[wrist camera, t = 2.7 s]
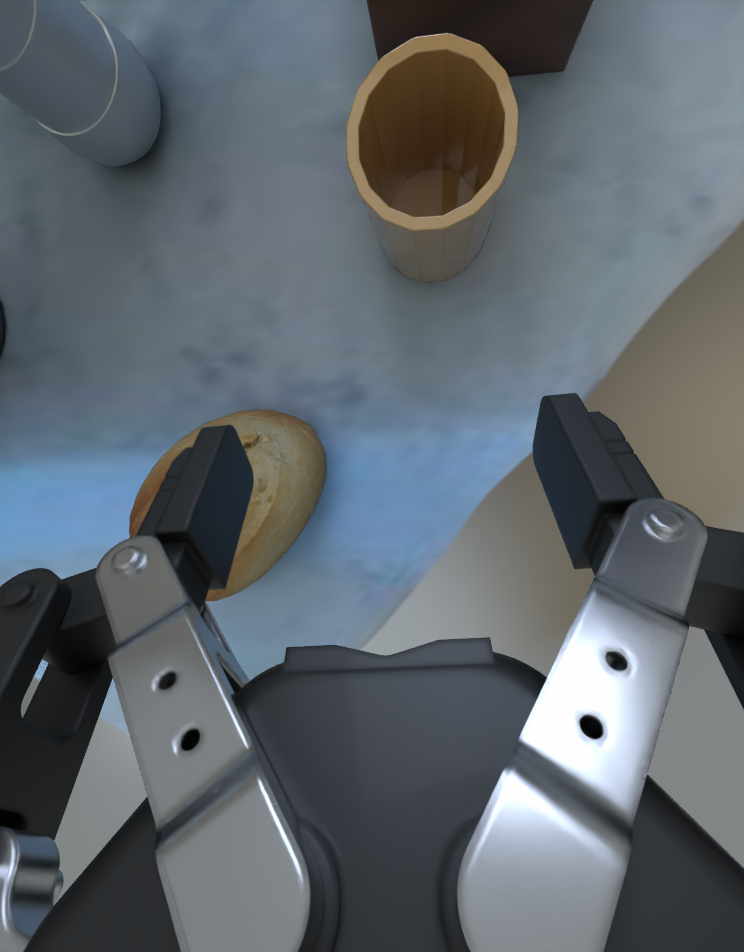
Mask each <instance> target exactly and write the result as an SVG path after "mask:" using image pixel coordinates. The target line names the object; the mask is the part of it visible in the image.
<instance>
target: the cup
mask: <svg viewBox="0 0 744 952" xmlns="http://www.w3.org/2000/svg"><path fill="white" fill-rule="evenodd" d="M518 117H519V110H518V105H517V102H516V99H515V96H514V93H513V90H512V87H511V84H510V80H509V77H508V74H507V73H506V71H505V70H504V69H503V68H502V66H501V65H500V64H499V63H498V62H497V61H496V60H495V59H494V58H493V57H492V56H491V54H490V53H489V52H488V51H487V50H486V49H485V48H484V47H483V46H482V47H481V45H480V44H477V43H475V42H472V41H469V40H467V39H464V38H461V37H458V36H456V35H453V34H449V33H444V34H436V35H428V36H420V37H414V39H413V38H412V39H410V40H409V41H407V42H405V43H404V44H402V45H401V46H399V47H397V48H396V49H394V50H392V51H391V52H389V53H388V54H386V55H384V56H383V57H382V58H381V59H380V60H379V61H378V63H377V64H376V65H375V67H374V68H373V69H372V71H371V72H370V73H369V75H368V76H367V77H366V79H365V80H364V81H363V83H362V84H361V85H360V87H359V89H358V90H357V93H356V97H355V100H354V103H353V106H352V109H351V112H350V115H349V119H348V122H347V127H346V142H347V163H348V167H349V170H350V172H351V175H352V178H353V180H354V183H355V185H356V188H357V190H358V193H359V195H360V198H361V200H362V202H363V205H364V207H365V209H366V211H367V214H368V216H369V218H370V221H371V223H372V225H373V228H374V230H375V232H376V235H377V237H378V239H379V242H380V244H381V246H382V248H383V251H384V253H385V255H386V257H387V259H388V260H389V261H390V263H391V264H392V265H393V266H394V267H395V268H396V269H397V270H398V271H399V272H400V273H402V274H403V275H405V276H406V277H408V278H411V279H413V280H416V281H420V282H439V281H443V280H446V279H449V278H451V277H453V276H455V275H457V274H459V273H460V272H461V271H463V270H464V269H465V268H466V267H467V266H468V265H469V264H470V263H471V262H472V261H473V260H474V259H475V257H476V256H477V254H478V253H479V251H480V249H481V247H482V245H483V242H484V239H485V237H486V235H487V232H488V230H489V227H490V224H491V221H492V218H493V215H494V213H495V210H496V207H497V204H498V201H499V198H500V195H501V192H502V190H503V187H504V184H505V181H506V178H507V175H508V172H509V170H510V167H511V164H512V161H513V158H514V155H515V152H516V148H517V135H518Z"/></svg>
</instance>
